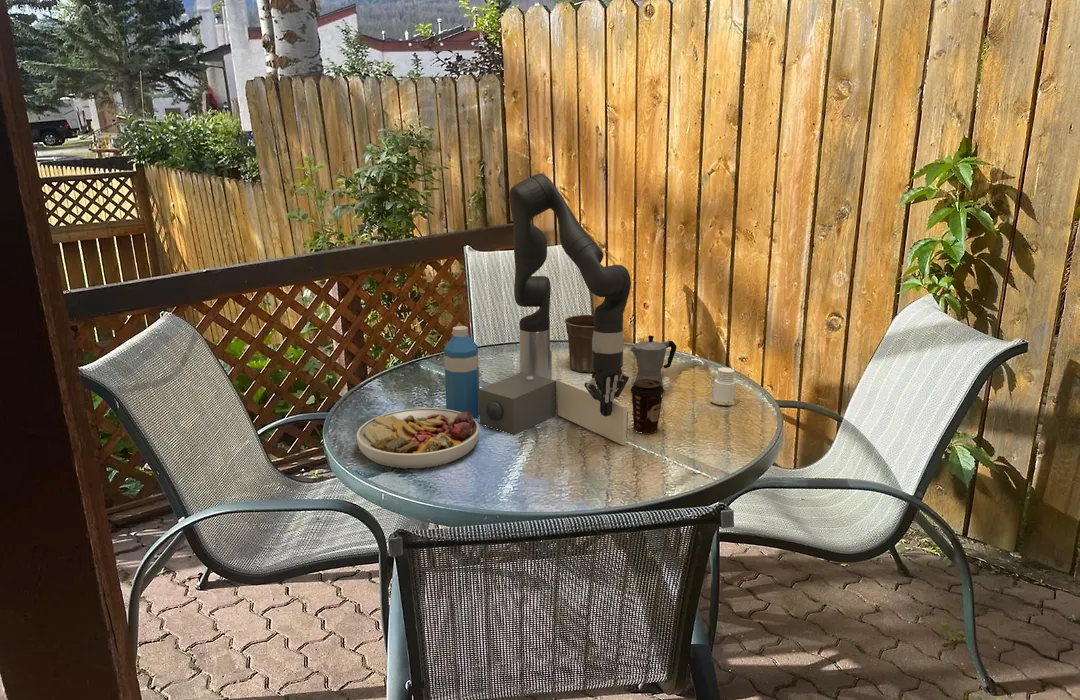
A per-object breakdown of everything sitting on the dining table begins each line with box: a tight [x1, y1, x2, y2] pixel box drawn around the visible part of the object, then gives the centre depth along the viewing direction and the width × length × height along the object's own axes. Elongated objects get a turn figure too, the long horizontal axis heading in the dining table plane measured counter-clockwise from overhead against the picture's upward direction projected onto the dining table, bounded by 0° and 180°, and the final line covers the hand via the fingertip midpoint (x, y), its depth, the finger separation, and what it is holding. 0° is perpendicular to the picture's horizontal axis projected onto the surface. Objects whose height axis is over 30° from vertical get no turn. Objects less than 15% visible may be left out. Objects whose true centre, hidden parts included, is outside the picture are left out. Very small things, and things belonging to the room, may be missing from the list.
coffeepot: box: [629, 335, 677, 395], centre depth 224 cm, size 15×9×18 cm, turn 113°
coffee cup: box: [630, 379, 665, 434], centre depth 199 cm, size 9×8×13 cm
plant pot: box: [564, 314, 594, 374], centre depth 249 cm, size 16×16×16 cm
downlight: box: [710, 367, 737, 402], centre depth 218 cm, size 8×7×10 cm
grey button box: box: [479, 372, 557, 436], centre depth 206 cm, size 19×12×11 cm, turn 141°
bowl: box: [356, 407, 480, 469], centre depth 190 cm, size 30×30×8 cm
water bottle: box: [443, 325, 480, 420], centre depth 207 cm, size 9×9×25 cm
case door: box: [555, 378, 629, 446], centre depth 199 cm, size 27×2×10 cm, turn 37°
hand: (605, 415), depth 190 cm, fingers closed
